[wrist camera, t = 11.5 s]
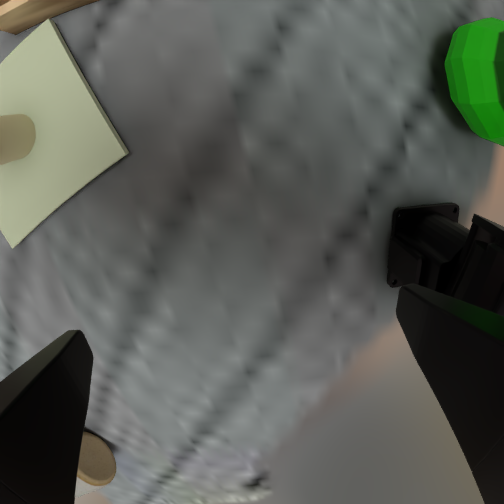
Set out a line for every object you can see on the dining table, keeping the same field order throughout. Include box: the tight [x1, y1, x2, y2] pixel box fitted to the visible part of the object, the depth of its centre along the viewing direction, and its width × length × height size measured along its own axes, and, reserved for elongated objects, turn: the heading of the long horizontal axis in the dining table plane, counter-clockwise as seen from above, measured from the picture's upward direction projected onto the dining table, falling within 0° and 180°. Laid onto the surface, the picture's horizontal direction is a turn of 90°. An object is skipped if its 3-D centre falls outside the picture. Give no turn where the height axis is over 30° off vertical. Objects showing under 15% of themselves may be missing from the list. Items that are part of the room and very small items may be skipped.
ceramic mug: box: [75, 432, 116, 497], centre depth 25 cm, size 11×8×8 cm
